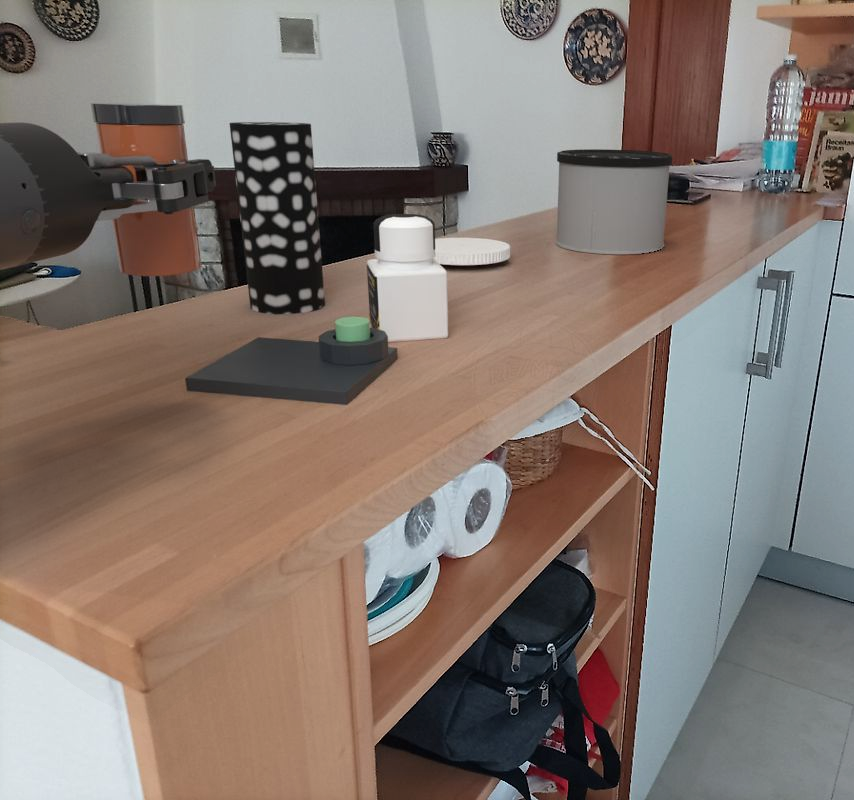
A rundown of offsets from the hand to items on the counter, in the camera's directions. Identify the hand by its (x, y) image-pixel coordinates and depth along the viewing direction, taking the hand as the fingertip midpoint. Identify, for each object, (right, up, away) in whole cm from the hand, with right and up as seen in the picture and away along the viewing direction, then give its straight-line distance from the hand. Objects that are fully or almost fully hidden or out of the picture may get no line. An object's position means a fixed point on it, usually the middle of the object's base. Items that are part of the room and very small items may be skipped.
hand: (169, 172), depth 57 cm
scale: (+6, -14, +12) cm, 20 cm away
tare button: (+10, -11, +13) cm, 20 cm away
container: (+39, +10, +77) cm, 87 cm away
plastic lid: (+16, +4, +60) cm, 62 cm away
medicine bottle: (+13, -10, +25) cm, 30 cm away
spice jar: (-1, -7, 0) cm, 7 cm away
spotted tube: (-2, -6, +34) cm, 35 cm away
